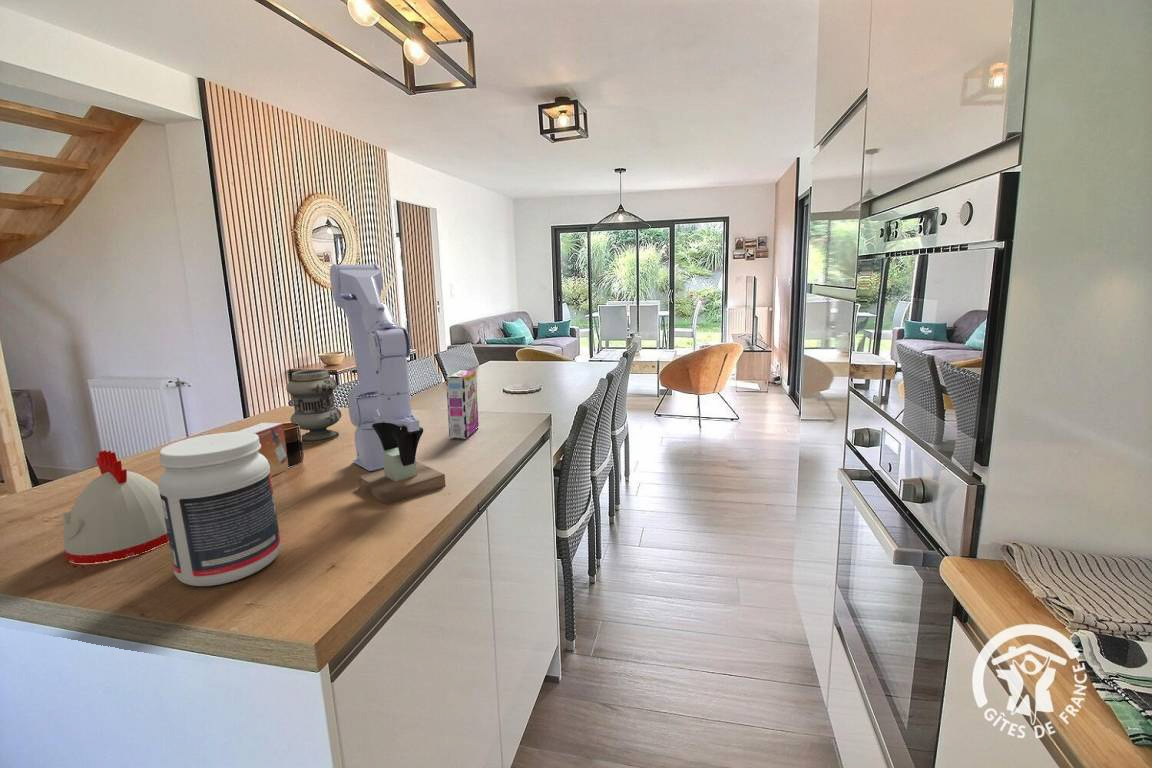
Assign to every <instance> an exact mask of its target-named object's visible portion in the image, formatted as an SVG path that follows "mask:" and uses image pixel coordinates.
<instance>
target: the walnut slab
mask: <svg viewBox="0 0 1152 768" xmlns="http://www.w3.org/2000/svg"><path fill="white" fill-rule="evenodd" d="M416 469H417V475H416V476H412V477H409V478H405V479H402V480H399V481H393V480H392V479H390V478H388V477H386V476H385V473H384V468H382V469H379V470H375V471H371V472H370V473H366V474H362V475H359V476H358V483H359V488H360V489H361V490H362V491H364V492H366V493H367V494H369V495H371V496H373V497H374V498H375V499H377V500H379V501H380V502H381V503H383V504H385V505H386V506H387V505H391V504H394V503H397V502H400V501H404V500H406V499H409V498H413V497H416V496H419V495H422V494H425V493H428V492H432V491H434V490H437V489H438V490H439V489H441V488H443V487H446V475H445V474H444V473H443V472H441V471H439V470H436V469H434V468H431V467H430V466H427V465H425V464H423V463H421V462H419V461H417V460H416Z"/></svg>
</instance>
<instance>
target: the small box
mask: <svg viewBox="0 0 1152 768" xmlns="http://www.w3.org/2000/svg"><path fill="white" fill-rule="evenodd" d="M235 432H250V433H254V434H257V435H258V436H259V442H260V444H261V448H260V449H259V450H258V452H259V453H260V454H262V455H263V456H264V457H265V458H266V459H267V460H268V463H269V465H270V474H271V478H272V477H273V476H276V475H278V474H280V473H283V472H286V471H288V470H289V462H288V455H287V445H286V439H285V429H284V424H283V423H280V422H277V423H276V422H260V423H258V424H255V425H252V426H249V427H247V428H243V429H240V430H235Z"/></svg>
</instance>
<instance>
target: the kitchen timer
mask: <svg viewBox="0 0 1152 768" xmlns="http://www.w3.org/2000/svg"><path fill="white" fill-rule="evenodd" d="M97 453H98V457H95V459H96V460H95V461H96V464H97V466H98V469H99V471H100V475H99V476H98V477H97V476H96V478H94V479H92V481H91V482H89V483H88V484H87V485H86V486H85V487H84V488H83V490H81V492H80V494H79V495H78V497H77V498H76V500H75V502H74V503H73V506H72V507H71V508H70V512H63V513H62V536H63V548H64V549H63V550H64V554H65V558H67V559H68V560H67V559H66V560H67V562H68V561H71V562H74V563H95V562H103V561H109V560H113V559H121V558H125V557H128V556H132V555H136V554H140V553H142V552H145V551H148V550H150V549H152V548H154V547H157V546H159V545H161V544H164V543H167V542H168V541H169V539H168V534H167V528H166V523H165V518H164V513H163V508H162V503H161V497H160V492H159V490H158V485H157V484H156V483H154V482H153V481H152V480H151V479H149V478H148V477H146V476H144V475H142V474H139V473H137V472H133V471H129V470H127V469H123V467H122V460H118V459H117V455H116V452H115V451H114V452H113V451H111V450H106V449H105V450H101V451H98V452H97ZM167 544H168V543H167Z"/></svg>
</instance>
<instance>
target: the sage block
mask: <svg viewBox="0 0 1152 768" xmlns="http://www.w3.org/2000/svg"><path fill="white" fill-rule="evenodd" d="M382 453H383V463H384V468H383V469H384V473H385V476H386V477H388V478H390V479H392V480H393V481H399V480H402V479H405V478H409V477H412V476H416V475H417V469H416V461H417V459H416V457H415V462H414V464H411V465H407V466H403V465H402V462H401V459H400V454H399V449H398V448H394V449H390V450H386V451H382Z"/></svg>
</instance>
